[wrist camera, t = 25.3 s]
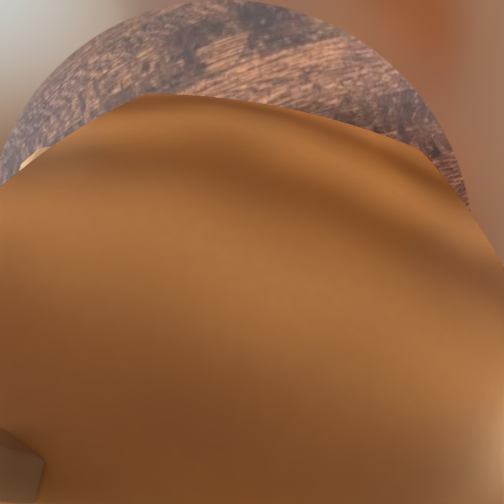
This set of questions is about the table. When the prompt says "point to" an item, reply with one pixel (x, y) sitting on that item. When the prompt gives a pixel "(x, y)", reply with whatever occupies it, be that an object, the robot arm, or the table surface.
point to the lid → (245, 316)
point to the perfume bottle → (33, 156)
